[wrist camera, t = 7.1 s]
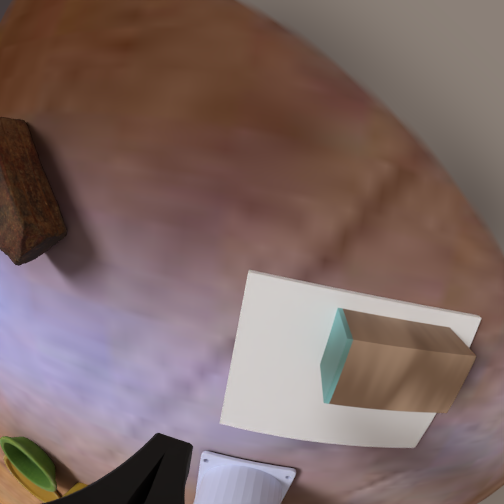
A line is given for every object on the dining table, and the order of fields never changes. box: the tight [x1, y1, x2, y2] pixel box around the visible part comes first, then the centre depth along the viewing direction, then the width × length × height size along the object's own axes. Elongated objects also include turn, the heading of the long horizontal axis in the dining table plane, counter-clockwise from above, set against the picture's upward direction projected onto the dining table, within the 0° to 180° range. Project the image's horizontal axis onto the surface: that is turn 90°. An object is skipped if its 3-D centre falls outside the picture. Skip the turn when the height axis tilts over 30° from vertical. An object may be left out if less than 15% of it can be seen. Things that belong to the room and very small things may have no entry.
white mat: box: [220, 270, 481, 448], centre depth 19 cm, size 12×16×1 cm
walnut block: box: [320, 308, 476, 413], centre depth 16 cm, size 4×4×8 cm
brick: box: [0, 117, 66, 266], centre depth 18 cm, size 11×4×5 cm, turn 30°
